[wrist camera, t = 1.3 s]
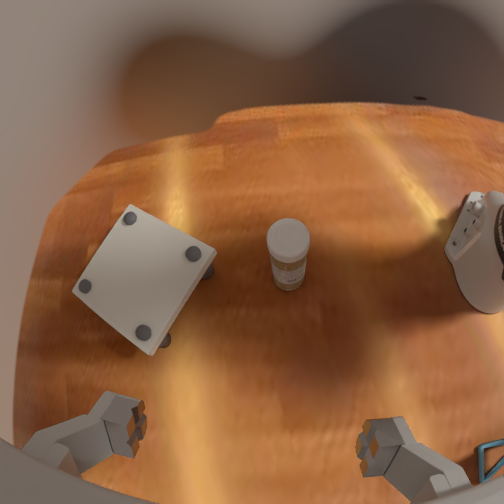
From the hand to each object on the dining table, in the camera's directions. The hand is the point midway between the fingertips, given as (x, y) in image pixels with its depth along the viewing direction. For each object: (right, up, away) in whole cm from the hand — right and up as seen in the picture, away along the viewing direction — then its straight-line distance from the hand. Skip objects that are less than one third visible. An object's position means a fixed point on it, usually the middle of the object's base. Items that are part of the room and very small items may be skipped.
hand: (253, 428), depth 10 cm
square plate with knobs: (-15, +1, +36) cm, 39 cm away
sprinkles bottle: (+5, +3, +35) cm, 35 cm away
